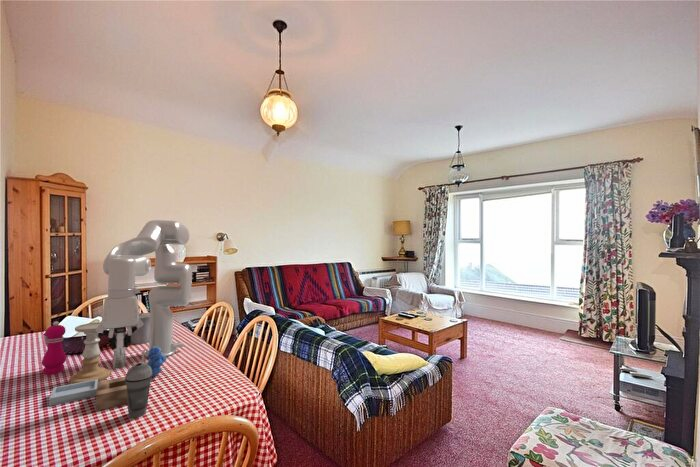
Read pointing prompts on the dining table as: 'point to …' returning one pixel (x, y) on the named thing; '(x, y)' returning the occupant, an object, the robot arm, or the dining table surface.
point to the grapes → (156, 360)
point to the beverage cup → (138, 388)
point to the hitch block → (111, 393)
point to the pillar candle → (142, 330)
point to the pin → (119, 347)
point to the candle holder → (90, 356)
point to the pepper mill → (54, 350)
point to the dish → (73, 392)
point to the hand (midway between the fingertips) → (119, 346)
